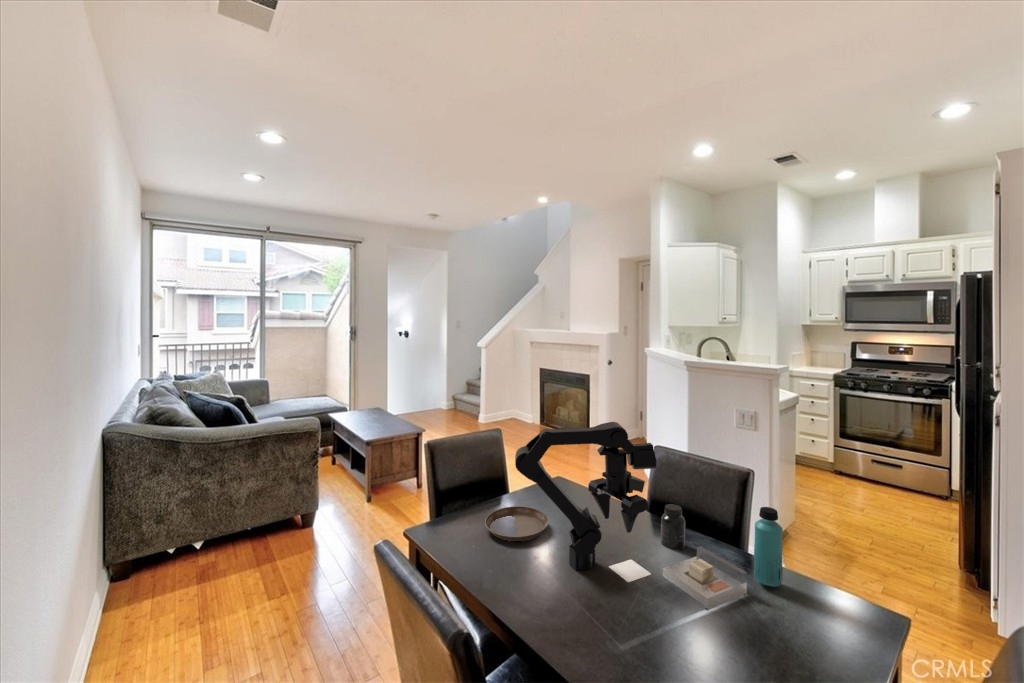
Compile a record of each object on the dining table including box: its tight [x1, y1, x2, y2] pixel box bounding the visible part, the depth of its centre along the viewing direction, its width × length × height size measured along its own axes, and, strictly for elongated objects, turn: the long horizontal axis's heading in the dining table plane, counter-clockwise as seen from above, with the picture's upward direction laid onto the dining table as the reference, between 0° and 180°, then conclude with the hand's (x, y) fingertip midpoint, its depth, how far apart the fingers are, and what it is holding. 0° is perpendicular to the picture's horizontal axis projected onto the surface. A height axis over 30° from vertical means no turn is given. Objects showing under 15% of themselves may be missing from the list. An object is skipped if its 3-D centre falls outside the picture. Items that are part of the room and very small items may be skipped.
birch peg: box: [689, 559, 713, 586], centre depth 113 cm, size 4×4×6 cm
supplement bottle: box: [660, 503, 686, 551], centre depth 133 cm, size 7×7×12 cm
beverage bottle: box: [752, 506, 784, 587], centre depth 113 cm, size 6×7×20 cm
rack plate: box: [662, 545, 748, 611], centre depth 113 cm, size 14×14×6 cm
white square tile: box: [608, 559, 652, 583], centre depth 119 cm, size 8×8×1 cm
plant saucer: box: [484, 505, 549, 542], centre depth 144 cm, size 21×21×3 cm
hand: (617, 525), depth 121 cm, fingers open, 9 cm apart
